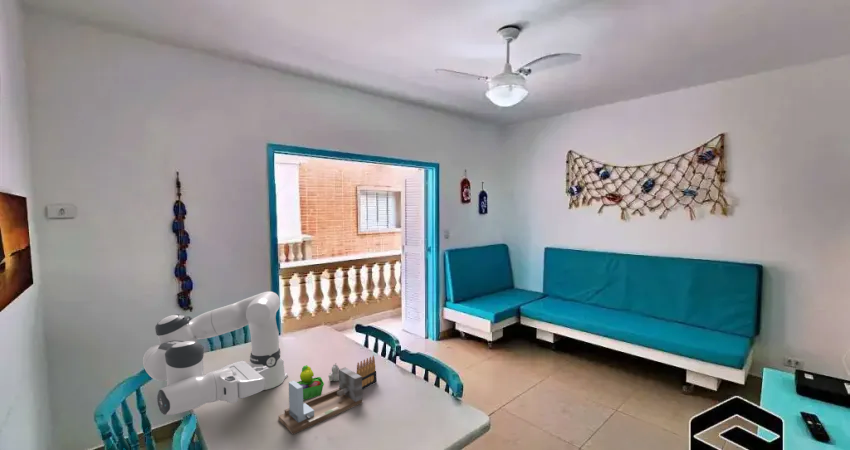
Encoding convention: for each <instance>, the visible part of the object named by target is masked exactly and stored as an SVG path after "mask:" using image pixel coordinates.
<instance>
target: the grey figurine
mask: <svg viewBox="0 0 850 450" xmlns="http://www.w3.org/2000/svg"><path fill="white" fill-rule="evenodd" d="M339 369H340V367H339V366H338V365H337V363H335V364H333V365H332V366H331V372H330V373H329V375H328V380H329V381H330V382H331V381H333V382H339Z"/></svg>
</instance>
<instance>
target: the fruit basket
mask: <svg viewBox="0 0 850 450" xmlns="http://www.w3.org/2000/svg"><path fill="white" fill-rule="evenodd" d="M301 368H302V369H301V372H300V375H299V378H300V380H298V381H296V382H297V383H298V384H300V385H301V386H302V387H303V401H304V400H308V399H309V400H310V399H313V398H316V397H318V396H321V395H322V393H323V388H324V385H325V383H324V381H323V379H322V377H321V376H316V377H314V374H315V373H314V371H313V370H312V368H311V366H309V365H308V364H307V365H304V366H302V367H301ZM313 377H314V378H313Z"/></svg>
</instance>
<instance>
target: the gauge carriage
mask: <svg viewBox="0 0 850 450" xmlns="http://www.w3.org/2000/svg"><path fill="white" fill-rule="evenodd" d="M297 382H298V381H295V379H293V380H291V381H288V405H289V406H288V408H289V413H290V416H292V417H293V418H294V419H295V420H296V421H297V422H298V423H299V422H301V421H303V420H305V419H309V420H310V417H312V416H314V410H313V409H312V408H311V407H309V406H308V405H307V404H306V403H304V404H303V402H304V400H303V387H302V386H301V385H300V384H298V383H297Z"/></svg>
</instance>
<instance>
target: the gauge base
mask: <svg viewBox="0 0 850 450" xmlns="http://www.w3.org/2000/svg"><path fill="white" fill-rule="evenodd" d="M356 373H357V372H354V370H351V369H349V368H347V367H346V366H344V367H342V368H339V380H338V388H336V389H334V390H330V391H329V392H326V393H324V394H321V396H316V397H313V398H310V399H309V400H308V399H307V400H306V401H303V404H304V403H306V404H307V405H308V406H309V407H311V408H312V409H313V410H314V416H312V417H310V420H309V419H305V420H303V421H301V422H299V423H298V422H297V421H296V420H295V419H294V418H293V417H292V416H290V413H289V407H288V408H286V409H284V412H283V413H282V414H280V415H278V421H279V422H280V423H281V424H282V425H283V426H284V427H285V428H286V429H287V430H288V431H289V432H290V433H291V434H293V435H294V434H297V433H299V432H301V431H304V430H305V429H308V428H310V427H312V426H315V425H317V424H319V423H321V422H323V421H325V420H327V419H330V418H332V417H334V416H336V415H338V414H340V413H344V412H346V411H347V410H348V411H349V410H350V409H352V408H355V407H357V406H358V405H361V404H363V390H362V376H360V375H358V374H356Z"/></svg>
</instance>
